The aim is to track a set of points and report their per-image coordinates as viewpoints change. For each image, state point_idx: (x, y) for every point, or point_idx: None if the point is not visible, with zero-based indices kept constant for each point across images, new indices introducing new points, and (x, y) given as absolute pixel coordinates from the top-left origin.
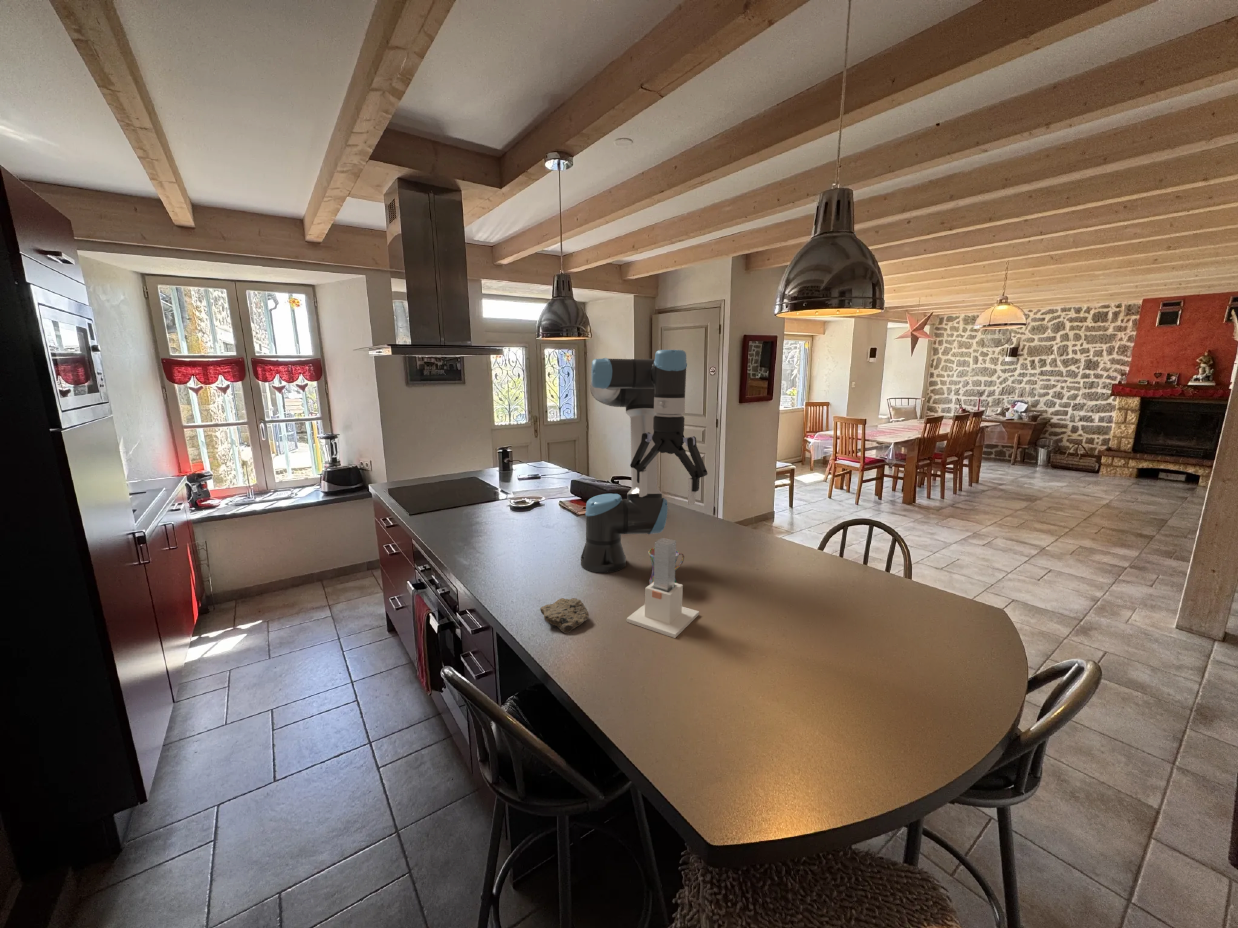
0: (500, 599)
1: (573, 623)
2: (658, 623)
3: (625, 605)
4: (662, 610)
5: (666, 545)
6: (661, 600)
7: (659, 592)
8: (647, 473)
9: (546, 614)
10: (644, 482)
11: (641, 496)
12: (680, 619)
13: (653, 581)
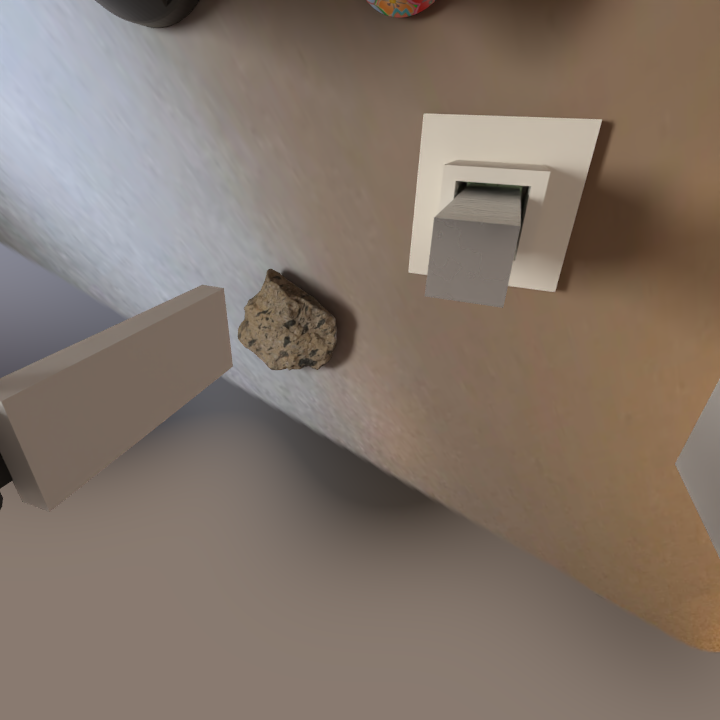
0: (145, 303)
1: (326, 358)
2: None
3: (367, 189)
4: None
5: (490, 305)
6: None
7: None
8: (45, 381)
9: (267, 362)
10: (144, 390)
11: (228, 368)
12: (550, 207)
13: (380, 3)
